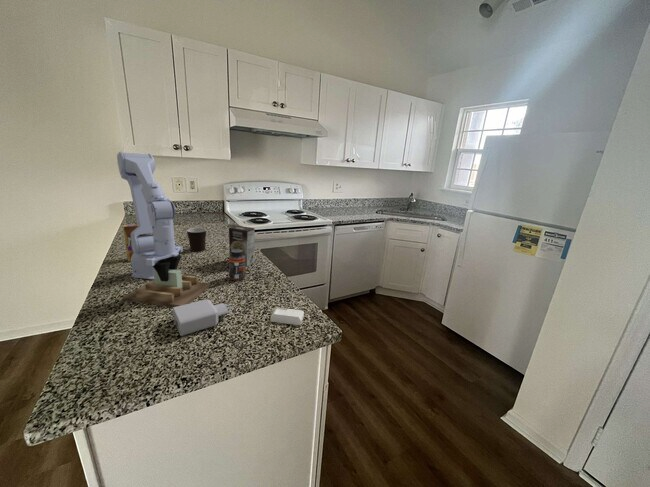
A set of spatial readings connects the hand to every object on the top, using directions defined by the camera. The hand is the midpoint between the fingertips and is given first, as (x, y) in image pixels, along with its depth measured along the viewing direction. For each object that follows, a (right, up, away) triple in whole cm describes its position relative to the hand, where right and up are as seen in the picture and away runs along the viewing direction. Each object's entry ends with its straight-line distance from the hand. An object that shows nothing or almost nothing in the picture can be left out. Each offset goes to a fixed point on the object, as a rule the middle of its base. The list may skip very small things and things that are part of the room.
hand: (168, 278), depth 89 cm
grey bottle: (+18, -11, -12) cm, 24 cm away
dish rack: (0, -5, +1) cm, 5 cm away
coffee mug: (-11, +9, +45) cm, 47 cm away
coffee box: (+15, +3, +32) cm, 35 cm away
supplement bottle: (+18, -2, +16) cm, 24 cm away
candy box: (-28, +5, +28) cm, 40 cm away
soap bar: (+41, -11, -8) cm, 43 cm away
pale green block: (0, -4, +1) cm, 4 cm away
